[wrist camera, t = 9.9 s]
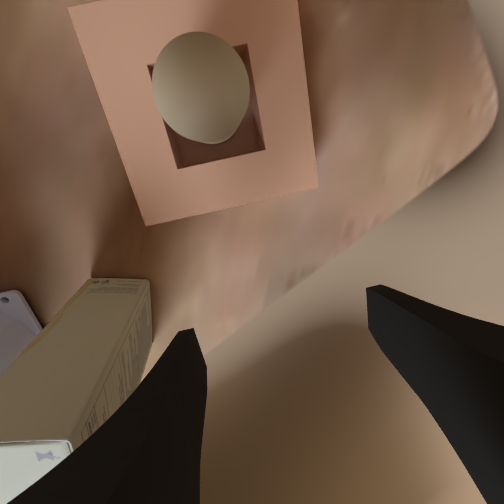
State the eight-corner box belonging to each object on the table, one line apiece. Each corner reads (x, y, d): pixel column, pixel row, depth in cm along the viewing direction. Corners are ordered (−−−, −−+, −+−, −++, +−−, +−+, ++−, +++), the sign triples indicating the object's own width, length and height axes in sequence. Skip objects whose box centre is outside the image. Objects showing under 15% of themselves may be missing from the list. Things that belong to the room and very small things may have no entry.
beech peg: (194, 149, 17) (169, 150, 10) (178, 92, 16) (137, 44, 9) (244, 138, 17) (258, 130, 10) (232, 79, 16) (237, 20, 9)
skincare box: (89, 276, 20) (-80, 442, 9) (152, 277, 21) (70, 436, 9) (98, 347, 22) (-28, 553, 11) (156, 347, 23) (91, 543, 12)
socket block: (159, 212, 19) (145, 226, 16) (100, 37, 15) (67, 7, 12) (302, 180, 19) (318, 187, 16) (277, 0, 16) (292, -40, 12)
